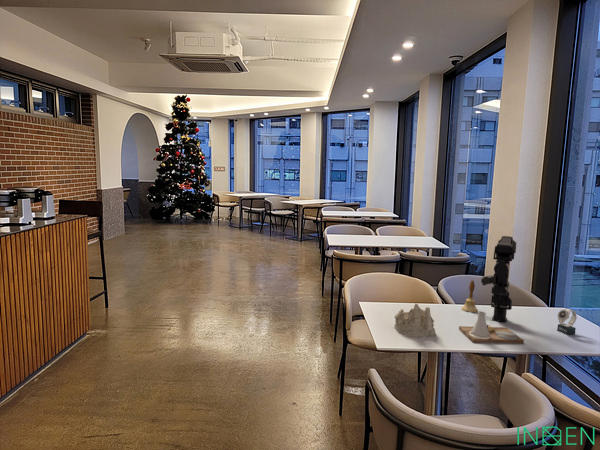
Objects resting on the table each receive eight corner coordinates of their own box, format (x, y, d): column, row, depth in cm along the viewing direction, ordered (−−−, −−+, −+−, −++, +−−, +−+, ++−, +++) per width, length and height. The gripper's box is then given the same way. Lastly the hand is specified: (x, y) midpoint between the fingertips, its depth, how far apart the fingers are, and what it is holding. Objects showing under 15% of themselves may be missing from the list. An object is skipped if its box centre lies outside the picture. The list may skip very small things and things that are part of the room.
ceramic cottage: (440, 336, 185) (440, 302, 184) (406, 340, 181) (406, 305, 180) (421, 325, 200) (421, 294, 199) (390, 329, 196) (389, 297, 195)
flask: (492, 336, 182) (494, 314, 180) (480, 338, 179) (482, 315, 178) (479, 330, 188) (481, 309, 187) (467, 332, 185) (469, 310, 184)
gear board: (458, 329, 194) (459, 321, 193) (506, 330, 194) (506, 322, 194) (472, 342, 179) (473, 334, 179) (523, 343, 179) (524, 335, 179)
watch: (553, 330, 196) (556, 307, 194) (568, 329, 198) (570, 307, 196) (563, 335, 190) (566, 311, 189) (578, 334, 192) (581, 311, 191)
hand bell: (475, 308, 227) (478, 279, 225) (479, 313, 219) (482, 283, 217) (459, 306, 228) (461, 278, 226) (463, 311, 220) (465, 282, 218)
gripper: (485, 265, 204) (482, 296, 206) (480, 272, 188) (477, 306, 190) (510, 268, 199) (507, 300, 200) (508, 276, 182) (505, 311, 184)
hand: (499, 304), depth 194 cm, fingers open, 9 cm apart
